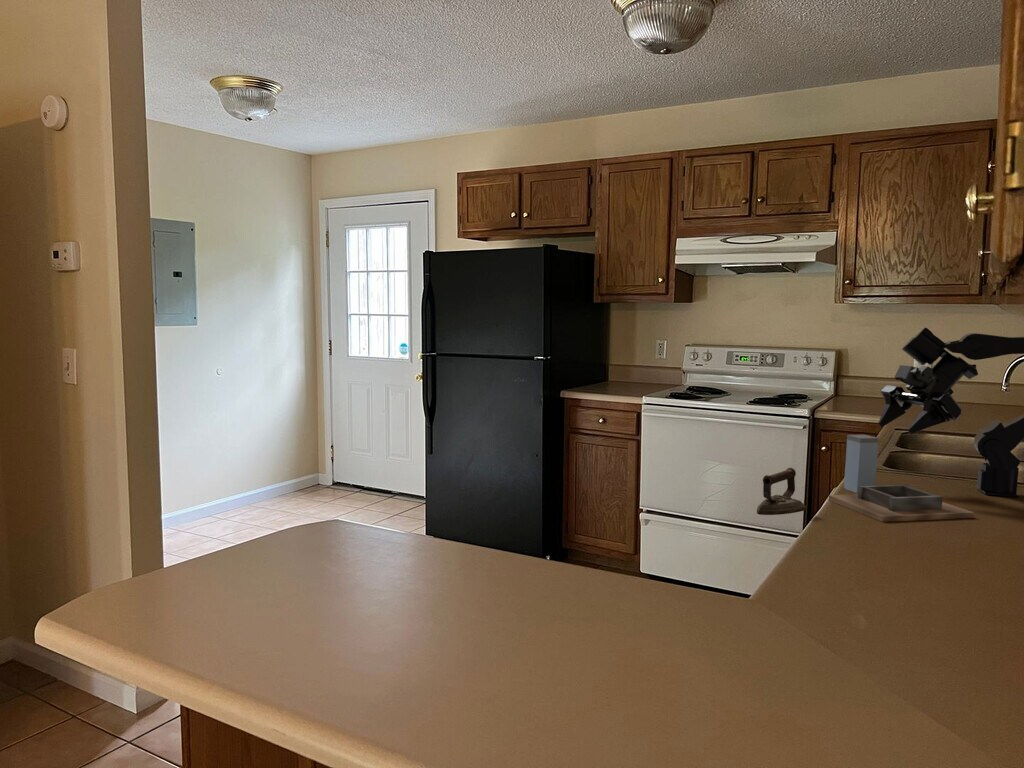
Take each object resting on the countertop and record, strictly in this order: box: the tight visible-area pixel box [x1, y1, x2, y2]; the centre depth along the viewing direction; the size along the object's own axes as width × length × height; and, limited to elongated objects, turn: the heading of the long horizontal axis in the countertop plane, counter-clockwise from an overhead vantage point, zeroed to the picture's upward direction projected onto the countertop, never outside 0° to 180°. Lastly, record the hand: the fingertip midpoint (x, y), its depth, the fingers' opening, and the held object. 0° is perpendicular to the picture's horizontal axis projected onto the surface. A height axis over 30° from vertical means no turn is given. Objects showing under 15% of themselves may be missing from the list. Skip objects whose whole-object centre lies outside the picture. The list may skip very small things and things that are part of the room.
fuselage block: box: [843, 434, 879, 494], centre depth 161 cm, size 4×4×12 cm
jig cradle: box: [828, 484, 975, 523], centre depth 146 cm, size 20×16×4 cm
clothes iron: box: [756, 467, 807, 516], centre depth 143 cm, size 7×11×10 cm, turn 129°
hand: (894, 428), depth 161 cm, fingers open, 9 cm apart
